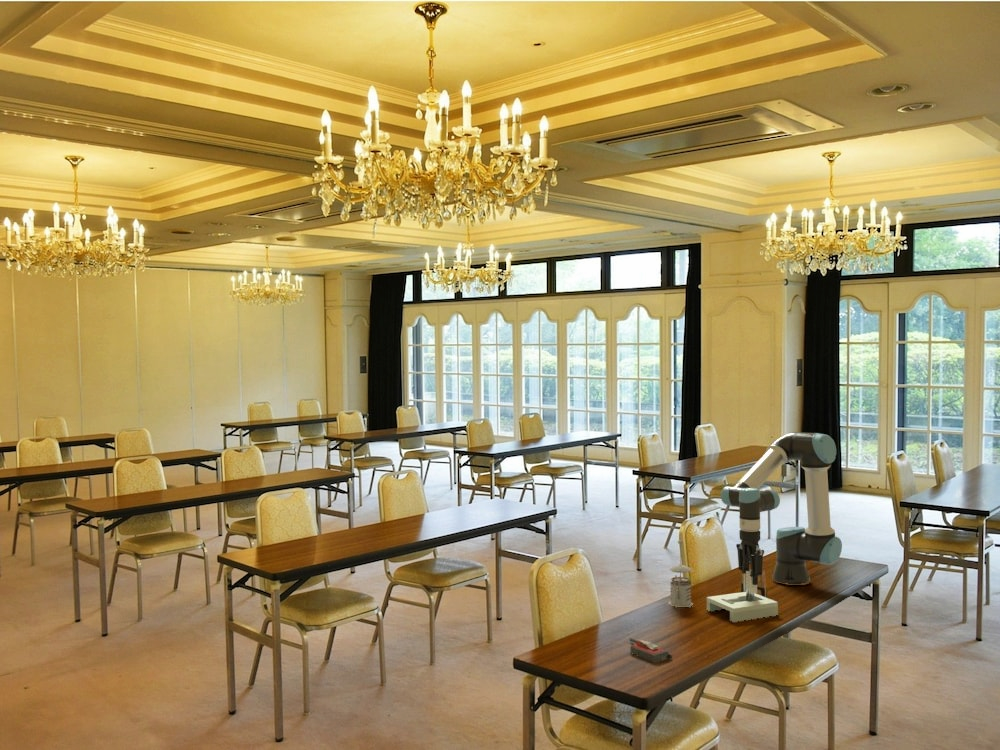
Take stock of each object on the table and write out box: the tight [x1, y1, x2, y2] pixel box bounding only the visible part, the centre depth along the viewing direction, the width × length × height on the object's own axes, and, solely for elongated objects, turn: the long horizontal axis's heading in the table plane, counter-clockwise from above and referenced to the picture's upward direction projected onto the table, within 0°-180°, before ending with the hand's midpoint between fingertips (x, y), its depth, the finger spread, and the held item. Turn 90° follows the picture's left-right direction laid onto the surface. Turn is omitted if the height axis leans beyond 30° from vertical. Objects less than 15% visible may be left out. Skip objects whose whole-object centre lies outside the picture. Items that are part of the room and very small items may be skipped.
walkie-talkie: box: [629, 638, 673, 663], centre depth 265 cm, size 9×4×20 cm
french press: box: [667, 539, 694, 608], centre depth 317 cm, size 10×12×25 cm
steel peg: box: [746, 569, 755, 602], centre depth 307 cm, size 6×6×15 cm
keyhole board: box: [706, 591, 779, 623], centre depth 306 cm, size 20×16×5 cm
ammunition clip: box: [740, 569, 768, 598], centre depth 325 cm, size 11×2×12 cm, turn 42°
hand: (750, 591), depth 307 cm, fingers closed on steel peg, 3 cm apart
